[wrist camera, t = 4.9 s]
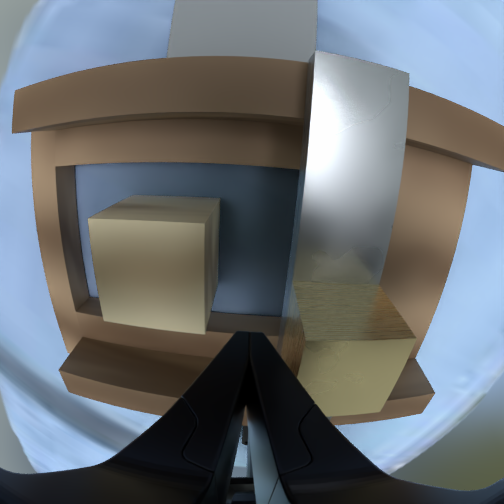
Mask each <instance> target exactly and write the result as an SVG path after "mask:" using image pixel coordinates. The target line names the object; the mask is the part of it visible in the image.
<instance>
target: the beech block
mask: <svg viewBox="0 0 504 504" xmlns="http://www.w3.org/2000/svg"><path fill="white" fill-rule="evenodd" d="M220 199H221V198H209V197H186V196H154V195H132V196H130V197H128V198H126V199H124V200H122V201H120V202H118V203H116V204H114V205H112V206H110V207H108V208H106V209H104V210H103V211H101V212H99V213H97V214H95V215H93V216H91V217H90V218H88V226H89V236H90V244H91V252H92V259H93V266H94V272H95V278H96V284H97V290H98V295H99V300H100V305H101V310H102V314H103V319H104V321H108V322H113V323H119V324H126V325H132V326H139V327H146V328H153V329H160V330H168V331H177V332H185V333H195V334H205V333H206V329H207V325H208V321H209V317H210V313H211V309H212V305H213V301H214V297H215V293H216V289H217V285H218V258H219V225H220Z"/></svg>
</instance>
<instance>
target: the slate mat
mask: <svg viewBox="0 0 504 504" xmlns="http://www.w3.org/2000/svg"><path fill="white" fill-rule="evenodd" d="M316 33H317V0H175V5H174V11H173V17H172V23H171V30H170V37H169V44H168V52H167V58H171V57H188V56H244V57H262V58H274V59H284V60H293V61H301V62H308V60H309V59H310V57H311V56H312V54H313V53H314V51H316Z"/></svg>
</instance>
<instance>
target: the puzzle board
mask: <svg viewBox="0 0 504 504" xmlns="http://www.w3.org/2000/svg"><path fill="white" fill-rule="evenodd" d="M307 73H308V62H301V61H293V60H284V59H274V58H262V57H244V56H188V57H171V58H159V59H149V60H140V61H133V62H126V63H119V64H113V65H107V66H102V67H97V68H92V69H87V70H83V71H78V72H74V73H70V74H66V75H63V76H59V77H55V78H52V79H48V80H45V81H42V82H39V83H36V84H33V85H30V86H27V87H24V88H21V89H18V90H15V95H14V105H13V119H12V134H13V133H23V132H31V168H32V187H33V200H34V210H35V219H36V226H37V233H38V240H39V246H40V252H41V257H42V262H43V267H44V272H45V276H46V281H47V285H48V289H49V293H50V297H51V301H52V304H53V308H54V312H55V315H56V318H57V322H58V325H59V328H60V331H61V334H62V337H63V340H64V343H65V346H66V349H67V352H68V353H70V355H69V356H68V357H67V359H66V360H65V362H64V363H63V365H62V366H61V367H60V369H59V372H60V374H61V376H62V379H63V381H64V383H65V385H66V387H67V389H68V391H69V392H70V393H73V394H76V395H79V396H83V397H86V398H89V399H93V400H96V401H100V402H103V403H107V404H111V405H114V406H118V407H122V408H127V409H131V410H135V411H140V412H145V413H150V414H155V415H160V416H163V415H164V414H165V413H166V412H167V411H168V410H169V409H170V408H171V407H172V406H173V404H174V403H175V402H176V401H177V400H178V399H179V398H180V397H181V396H182V394H183V393H184V392H185V391H186V390H187V389H188V388H189V386H190V385H191V384H192V383H193V382H194V381H195V379H196V378H197V377H198V376H199V375H200V374H201V372H202V371H203V370H204V369H205V368H206V367H207V365H208V364H209V363H210V362H211V361H212V360H213V358H214V357H215V356H216V355H217V354H218V352H219V351H220V350H221V349H222V348H223V346H224V345H225V344H226V343H227V342H228V340H229V339H230V338H231V337H232V336H233V334H234V333H235V332H236V331H249V332H251V331H253V332H263V333H264V334H265V335H266V337H267V338H268V339H269V341H270V342H271V344H272V345H273V346H274V348H275V349H277V343H278V336H279V330H280V323H281V317H275V316H258V315H243V314H230V313H218V312H211V313H210V317H209V321H208V325H207V329H206V333H205V334H195V333H185V332H177V331H168V330H160V329H153V328H146V327H139V326H132V325H126V324H119V323H113V322H108V321H104V319H103V314H102V310H101V305H100V300H99V298H95V297H89V292H88V287H87V282H86V276H85V270H84V264H83V258H82V251H81V243H80V235H79V226H78V216H77V204H76V188H75V165H82V164H100V163H128V162H188V163H218V164H237V165H252V166H265V167H277V168H288V169H298V170H300V161H301V150H302V139H303V128H304V115H305V102H306V88H307ZM472 165H477V166H481V167H485V168H489V169H493V170H497V171H501V172H504V126H502V125H500V124H498V123H496V122H495V121H493V120H491V119H489V118H487V117H485V116H483V115H481V114H479V113H476V112H474V111H472V110H470V109H468V108H466V107H463V106H461V105H459V104H456V103H454V102H452V101H449V100H447V99H444V98H442V97H439V96H436V95H434V94H431V93H428V92H426V91H423V90H420V89H417V88H414V87H411V86H409V102H408V119H407V132H406V142H405V152H404V160H403V168H402V176H401V183H400V189H399V195H398V201H397V207H396V212H395V218H394V223H393V228H392V233H391V237H390V242H389V247H388V251H387V255H386V259H385V263H384V267H383V271H382V275H381V279H380V283H379V286H380V287H381V288H382V290H383V291H384V292H385V294H386V295H387V297H388V298H389V299H390V301H391V302H392V303H393V305H394V306H395V308H396V309H397V310H398V312H399V313H400V315H401V316H402V317H403V319H404V320H405V322H406V323H407V325H408V326H409V327H410V329H411V330H412V332H413V333H414V335H415V336H416V338H417V340H416V342H415V344H414V347H413V349H412V351H411V353H410V355H409V357H408V360H407V362H406V364H405V366H404V368H403V370H402V372H401V374H400V376H399V378H398V380H397V382H396V384H395V386H394V388H393V390H392V391H391V393H390V395H389V397H388V399H387V401H386V402H385V404H384V406H383V408H382V409H381V411H380V412H375V413H367V414H357V415H345V416H332V417H331V420H330V422H331V423H332V424H333V425H345V424H355V423H365V422H373V421H380V420H387V419H393V418H399V417H405V416H411V415H416V414H421V413H422V412H423V411H424V409H425V408H426V406H427V405H428V403H429V402H430V400H431V399H432V397H433V396H434V394H435V392H434V390H433V388H432V387H431V385H430V383H429V381H428V380H427V378H426V376H425V374H424V373H423V371H422V369H421V367H420V366H419V364H418V362H417V361H416V359H415V357H416V355H417V353H418V351H419V349H420V347H421V344H422V342H423V340H424V338H425V335H426V333H427V331H428V328H429V326H430V323H431V321H432V318H433V316H434V313H435V311H436V308H437V305H438V303H439V300H440V297H441V294H442V292H443V289H444V286H445V283H446V280H447V277H448V273H449V270H450V267H451V264H452V260H453V257H454V253H455V250H456V246H457V242H458V238H459V234H460V230H461V226H462V221H463V217H464V212H465V207H466V202H467V197H468V191H469V185H470V178H471V171H472ZM242 426H248V422H247V412H246V407H245V412H244V417H243V422H242Z"/></svg>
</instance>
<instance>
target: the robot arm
mask: <svg viewBox="0 0 504 504" xmlns="http://www.w3.org/2000/svg"><path fill="white" fill-rule="evenodd" d="M245 407H246V412H247V422H248V426H243V435H242V444H244V445H248V449H247V477H236V478H234V477H231V476H232V470H233V466H234V461H235V457H236V452H237V447H238V442H239V437H240V432H241V427H242V422H243V417H244V412H245ZM0 504H504V478H502V479H501V480H499V481H498V482H495V483H494V484H492V485H491V486H489V487H486V488H483V489H479V490H472V491H462V490H453V489H446V488H440V487H434V486H429V485H424V484H419V483H414V482H410V481H405V480H401V479H397V478H395V477H392V476H390V475H388V474H387V473H385V472H383V471H382V470H381V469H379V468H378V467H377V466H376V465H374V464H373V463H372V462H371V461H370V460H369V459H368V458H367V457H366V456H365V455H364V454H362V453H361V452H360V451H359V450H358V449H357V448H356V447H355V446H354V445H353V444H352V443H351V442H350V441H349V440H348V439H347V438H346V437H345V436H344V435H343V434H342V433H341V432H340V431H339V430H338V429H337V428H336V427H335V426H334V425H333V424H332V423H331V422H330V420H329V419H328V418H327V417H326V416H325V414H324V413H323V412H322V411H321V409H320V408H319V407H318V405H317V404H315V402H314V400H313V399H312V398H311V396H310V395H309V394H308V392H307V391H306V390H305V388H304V387H303V386H302V384H301V383H300V382H299V380H298V379H297V378H296V376H295V375H294V374H293V372H292V371H291V370H290V368H289V367H288V365H287V364H286V363H285V361H284V360H283V359H282V357H281V356H280V355H279V353H278V352H277V350H276V349H275V348H274V346H273V345H272V344H271V342H270V341H269V339H268V338H267V337H266V335H265V334H264V333H263V332H253V331H251V332H249V331H236V332H235V333H234V334H233V336H232V337H231V338H230V339H229V340H228V342H227V343H226V344H225V345H224V346H223V348H222V349H221V350H220V351H219V352H218V354H217V355H216V356H215V357H214V358H213V360H212V361H211V362H210V363H209V364H208V365H207V367H206V368H205V369H204V370H203V371H202V372H201V374H200V375H199V376H198V377H197V378H196V379H195V381H194V382H193V383H192V384H191V385H190V386H189V388H188V389H187V390H186V391H185V392H184V393H183V394H182V396H181V397H180V398H179V399H178V400H177V401H176V402H175V403H174V404H173V406H172V407H171V408H170V409H169V410H168V411H167V412H166V413H165V414H164V415H163V416H162V417H161V418H160V419H159V420H158V421H156V422H155V423H154V424H153V425H152V426H151V427H150V428H148V429H147V430H146V431H145V432H144V433H142V434H141V435H140V436H139V437H137V438H136V439H135V440H134V441H132V442H131V443H130V444H129V445H127V446H126V447H125V448H124V449H122V450H121V451H120V452H118V453H117V454H116V455H114V456H113V457H112V458H110V459H108V460H107V461H105V462H102V463H100V464H97V465H95V466H90V467H85V468H79V469H72V470H65V471H57V472H47V473H36V474H20V473H13V472H10V471H6V470H4V469H2V468H0Z"/></svg>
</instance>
